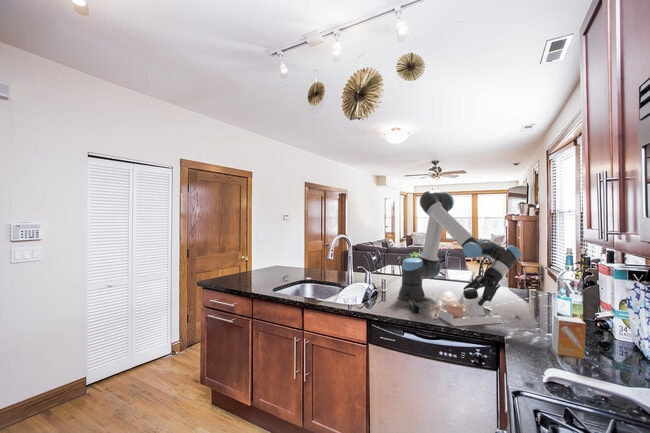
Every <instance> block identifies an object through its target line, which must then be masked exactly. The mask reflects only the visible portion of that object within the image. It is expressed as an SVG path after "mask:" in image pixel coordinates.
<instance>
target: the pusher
mask: <svg viewBox="0 0 650 433" xmlns="http://www.w3.org/2000/svg"><path fill="white" fill-rule="evenodd" d="M483 307H484V311H485V315H483V316H482V317H486V316H493V309H492V308H489V307H487V306H486V305H485V306H484V305H483Z"/></svg>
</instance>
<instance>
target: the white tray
mask: <svg viewBox="0 0 650 433" xmlns="http://www.w3.org/2000/svg"><path fill="white" fill-rule="evenodd" d="M436 316H437V317H439V319H442V320H443V321H445V322H447V323H449V324H451V325H452V326H454V327H460V326H462V327H463V326H475V325H477V326H478V325H488V324H489V325H493V324H503V323H504V322H502V316H501V315H492V316H486V317H482V316H477V317H469V316H468V314H467V312H466V311H465V309H463V318H454V319H453V315H452V314H450V313H448V312H447V310H445V309H443V308H439V309H438V311H437V315H436Z"/></svg>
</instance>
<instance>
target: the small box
mask: <svg viewBox="0 0 650 433" xmlns="http://www.w3.org/2000/svg"><path fill="white" fill-rule="evenodd" d="M586 328H587V324H586V322H584V321H583V320H582V319H581V318H579V317H572V316H564V315H555V314H554V315H553V322H552V345H551V347H552V348H551V349H553V351H554V352H555V354H557V355H558V356H563V357H570V358H575V359H582V360H584V359H585V349H586Z"/></svg>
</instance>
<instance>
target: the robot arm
mask: <svg viewBox="0 0 650 433" xmlns="http://www.w3.org/2000/svg"><path fill="white" fill-rule="evenodd" d="M454 203H455V200H454V197H453V196H452V195H451V193H449V192H446V191H444V190H443V191H439V190H427V191H425V192H423V193H422V194H421V196H420V197H419V205H420V207H421V209H422V211H423V212H424V213H425V214H426V215H427V216H428V222H427V228H426V232H425V237H424V243H423V249H422V253H420V254H419V256H418V257H409V258H405V259H403V261H402V265H401V286H400V289H399V291H398V295H397V296H398V298H399V300H402V301H406V302H409V299H413V300H415V303H417V302H418V303H420V302H424V301H425V300H426V295H425V292H424V288H423V280H426V279H433V278H436V277H438V275H439V274H440V273H441V271H442V265H441V262H440V258H439V257H438V253H439V247H440V243H441V239H442V238H441V237H442V231H443V229H444V231H446V233H448V235H450V237H451V238H452V239H453V240H455V242H456V243H457V244H458V245H459V246H460V247H461V248H462V252H463V255H464V256H465V257H467V258H470V259H477V258H484V257H489V258H490V259H492V260H494V261H492V263H491V264H490V265H489V266H488V267H487V268H486V270H485V271H484V272H483V275H482V276H479V275H476V276H475V278H474V279H473V280H472V281H471V282H469V283H467V285H466V286H464V287H463V291H464V290H465V289H468V288H474V289H476V290H477V291H478V290H479V289H482V288H483V293H482V295H481V296H479V299H478V300H477V301H476V302H475V303H474V304H473V306H472V307H471V308H472V309H473V310H474V311H475V312H476V311H477V310H478V308H479V307H480V306H482V305H483V306H484V304H485V302H487V301H488V302H492V301H493V298H494V297H495V294H496V293H497V291H498V289H499V288H500V287H501V284H500V281H502V280H503V277H505V275H507V273H508V272H509V271H510V270H511V269H512V268H513V266H514V265H516V263H518V261H519V259H520V258H521V256H522V252H521V250H520V249H519V248H518V247H516V246H514V245H512V244H511V245H510V244H507V246H505V247H504V246H502V245H500V244H497V243H495V242H494V241H491V240H490V239H487V238H483V237H482V238H480V239H478V240H477V239H476V238H475V237H474V236H473V235H472V234H471V233H470V232H469V231H468V230H467V229H466V228H465V227H463V225H462V224H460V223H459V221H458V220H456V218H454V216H452V214H450V213H449V211H451V210H452V209H453V207H454ZM462 298H464V293H463V294H462V295H461V296H460V297H459V299H457V302H458V304H461V305H464V303H463V299H462Z"/></svg>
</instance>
